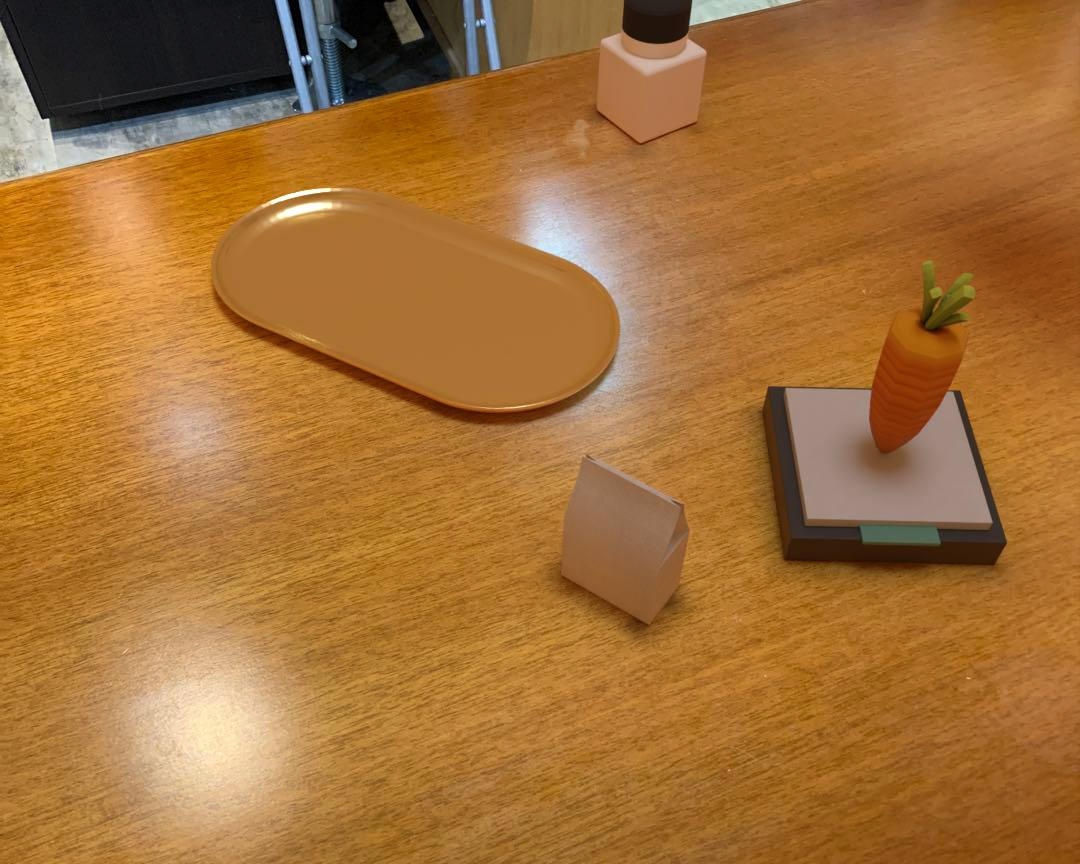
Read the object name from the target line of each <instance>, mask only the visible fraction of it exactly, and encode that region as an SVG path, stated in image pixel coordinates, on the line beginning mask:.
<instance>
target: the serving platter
mask: <svg viewBox="0 0 1080 864" xmlns="http://www.w3.org/2000/svg"><path fill="white" fill-rule="evenodd" d="M210 276H211V281H212V283H213V287H214V289H215V291H216V293H217V294H218V297H220V299H221V300H222V302H223V303H224V304H225V306H227V307H228V308H229V309H230V310H231V311H233V312H234V313H235V314H236V315H237V316H239V317H241V318H243V319H244V320H245V321H247V322H249V323H251V324H253V325H255V326H257V327H259V328H262V329H264V330H266V331H269V332H271V333H274V334H276V335H279V336H281V337H284V338H286V339H288V340H290V341H293V342H295V343H298V344H300V345H302V346H305V347H307V348H310V349H312V350H314V351H317V352H319V353H321V354H324V355H325V356H328V357H330V358H333V359H335V360H338V361H340V362H343V363H345V364H346V365H350V366H352V367H354V368H356V369H360V370H361V371H364V372H367V373H369V374H371V375H373V376H376V377H379V378H381V379H383V380H386V381H388V382H390V383H392V384H395V385H397V386H399V387H402V388H405V389H407V390H409V391H411V392H413V393H416V394H419V395H421V396H423V397H426V398H428V399H430V400H433V401H435V402H438V403H441V404H443V405H446V406H448V407H451V408H452V407H453V408H456V409H458V410H459V409H460V410H465V411H470V412H477V413H487V414H488V413H489V414H509V413H521V412H526V411H532V410H536V409H540V408H545V407H547V406H550V405H554V404H556V403H559V402H561V401H564V400H566V399H567V398H569V397H571V396H573V395H575V394H577V393H578V392H580V391H582V390H583V389H585V388H586V387H587V386H589V385H590V384H591V383H593V382H594V381H595V380H596V379H597V378H598V377H599V376H600V375H601V374H602V373H603V372H604V371H605V369H606V368H608V366H609V364H610V363H611V361H612V360H613V358H614V356H615V354H616V351H617V348H618V346H619V343H620V337H621V319H620V315H619V310H618V308H617V305H616V303H615V301H614V300H613V297H612V295H611V294H610V293H609V291H608V290H607V289H606V287H605V286H604V285H603V284H602V283H601V282H600V281H599V280H598V278H597V277H595V276H594V275H593V274H591V273H590V272H588V271H587V270H585V268H583V267H581V266H579V265H578V264H576V263H574V262H571V261H570V260H567V259H565V258H564V257H561V256H559V255H555V254H553V253H550V252H547V251H545V250H541V249H539V248H536V247H534V246H530V245H527V244H525V243H522V242H519V241H516V240H514V239H511V238H509V237H506V236H503V235H500V234H497V233H495V232H492V231H489V230H486V229H483V228H481V227H478V226H475V225H472V224H470V223H467V222H464V221H461V220H458V219H456V218H453V217H451V216H449V215H445V214H442V213H439V212H437V211H433V210H431V209H428V208H425V207H422V206H419V205H418V204H414V203H411V202H408V201H406V200H404V199H400V198H398V197H395V196H393V195H389V194H386V193H383V192H379V191H376V190H369V189H363V188H356V187H322V188H312V189H307V190H301V191H297V192H292V193H289V194H285V195H281V196H279V197H277V198H273V199H271V200H269V201H267V202H264V203H262V204H260V205H258V206H256V207H254V208H253V209H251V210H250V211H247V212H246V213H244V214H243V215H241V216H240V217H239V218H238V219H236V220H235V221H234V222H233V223H232V224H231V225H230V226H229V227H228V228H226V230H225V232H223V234H222V235H221V237H220V238H219V240H218V241H217V243H216V244H215V247H214V250H213V253H212V256H211V262H210Z"/></svg>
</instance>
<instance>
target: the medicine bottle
mask: <svg viewBox="0 0 1080 864" xmlns="http://www.w3.org/2000/svg"><path fill="white" fill-rule="evenodd" d="M692 7H693V0H623V6H622V18H621V32H619V33H616V34H613V35H610V36H607V37H604V38H603V39H601V40H600V43H599V44H600V45H599V59H598V76H597V94H596V110H597V112H598V113H600V114H601V115H602V116H604V117H605V118H606V119H608V120H609V121H610V122H612V123H613V124H614V125H615V126H617V127H618V128H619V129H620V130H621V131H623V132H625V133H626V134H627V135H628V136H629V137H631V138H632V139H633V140H634V141H636V142H637V143H638V144H643V143H646V142H648V141H650V140H651V141H652V140H653V139H656V138H658V137H661V136H663V135H666V134H670V133H671V132H674V131H676V130H679V129H682V128H684V127H687V126H689V125H692V124H694V123H696V122H697V121H698V119H699V112H700V104H701V98H702V90H703V83H704V75H705V69H706V62H707V61H706V60H707V55H708V53H707V51H706V49H704V48H703V47H701V46H700V45H698V44H697V43H696V42H694V41H692V40H691V39H689V32H690V24H691V16H692V9H693V8H692Z"/></svg>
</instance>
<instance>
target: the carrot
mask: <svg viewBox="0 0 1080 864" xmlns="http://www.w3.org/2000/svg"><path fill="white" fill-rule="evenodd" d="M921 272H922V273H921V274H922V283H923V287H922V288H923V300H922V306H920V307H916V308H915V307H914V308H912V309H911V308H910V309H908V310H904V311H900V312H897V313H896V315H895V316H894V317H893V320H892V321H891V324H890V327H889V329H888V332H887V335H886V336H885V337H886V338H885V339H884V342H883V345H882V350H881V352H880V356H879V359H878V363H877V366H876V370H875V373H874V377H873V380H872V384H871V388H872V390H871V398H870V410H869V422H870V428H871V433H872V436H873V439H874V442H875V445H876V447H877V448H878V450H879V451H880V452H882V453H890V452H893V451H895V450H896V449H898V448H900V447H902V446H903V445H905V444H907V443H908V442H909V441H910V440H912V439H913V438H914V437H915V436H916V435H918V434H919V433H920V431H921V430H922V429H923V428H924V426H925V425H926V424H927V423H928V421H929V420H930V419H931V417H932V416H933V415H934V413H935V412H936V410H937V409H938V408H939V406H940V404H941V402H942V400H943V399H944V397H945V395H946V393H947V391H948V390H950V388H951V386H952V383H953V381H954V379H955V377H956V374H957V373H958V370H959V368H960V366H961V364H962V361H963V358H964V355H965V352H966V351H965V350H966V348H967V345H968V342H969V338H970V336H969V335H970V333H969V332H968V331H967V329H966V328H965V327H964V326H963V325H962V324H961V323H965V322H969V321H970V316H969V314H968V313H966V312H959V311H960V310H961V309H962V308H964V307H966V305H968V304H970V303H971V302H972V301H973V300H975V296H976V289H975V287H974V286H972V285H969V284H968V283H969V282H970V281H971V280H972V279H973V278H975V277H974V276H975V275H973V274H972V273H969V272H964V273H962V274H961V275H960V276H959V277H957V278H956V279H955V281H953V282H952V284H951V285H950V286H949V287H948V289H947V290H946V291H945V292H944V293H943V290H942V288H941V287H940V286H937V287H935V283H936V282H935V281H936V273H935V265H934V260H933V259H931V260H926V261H924V262H921ZM938 302H939V304H938V306H937V307H936V308H935V306H936V304H937V303H938Z"/></svg>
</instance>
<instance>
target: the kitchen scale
mask: <svg viewBox="0 0 1080 864" xmlns="http://www.w3.org/2000/svg"><path fill="white" fill-rule="evenodd" d="M871 390H872V387H871V388H869V387H867V388H866V387H831V386H830V387H829V386H828V387H826V386H825V387H824V386H781V385H779V386H778V385H768V386H767V389H766V393H765V397H764V401H763V405H762V416H763V421H764V428H765V436H766V442H767V449H768V456H769V462H770V469H771V470H770V471H771V476H772V482H773V490H774V496H775V503H776V511H777V517H778V524H779V531H780V537H781V545H782V550H783V558H784V560H786V561H787V560H790V561H791V560H793V561H826V562H827V561H831V562H832V561H835V562H838V561H839V562H876V563H879V562H880V563H920V564H921V563H923V564H924V563H925V564H961V565H962V564H966V565H996V563H997V561H998V559H999V558H1000V556H1001V555H1002V553H1003V551H1004V549H1005V547H1006V546H1007V544H1008V540H1007V537H1006V535H1005V530H1004V528H1003V524H1002V521H1001V518H1000V515H999V512H998V508H997V504H996V502H995V499H994V495H993V492H992V488H991V485H990V481H989V480H988V475H987V472H986V470H985V466H984V462H983V459H982V456H981V453H980V450H979V446H978V443H977V440H976V436H975V433H974V430H973V427H972V424H971V423H972V422H971V420H970V417H969V414H968V410H967V408H966V404H965V401H964V398H963V394H962V391H961V390H960V389H953V390H952V389H948V391H947V393H946V395H945V397H944V399H943V400H942V402H941V404H940V406H939V408H938V409H937V410H936V412H935V413H934V415H933V416H932V417H931V419H930V420H929V421H928V423H927V424H926V425H925V426H924V428H923V429H922V430H921V431H920V433H919V434H918V435H916V436H915V437H914V438H913V439H912V440H910V441H909V442H908V443H907V444H905V445H903V446H902V447H900V448H898V449H896V450H895V451H893V452H890V453H882V452H880V451H879V450H878V448H877V447H876V445H875V442H874V439H873V436H872V433H871V428H870V422H869V410H870V398H871Z"/></svg>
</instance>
